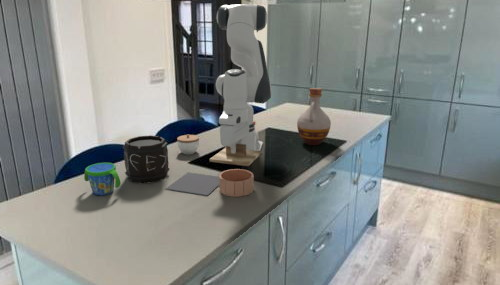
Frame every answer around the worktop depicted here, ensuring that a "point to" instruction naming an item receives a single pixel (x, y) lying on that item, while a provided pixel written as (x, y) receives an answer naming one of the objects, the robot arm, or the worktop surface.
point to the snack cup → (102, 178)
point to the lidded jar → (188, 143)
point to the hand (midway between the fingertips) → (236, 151)
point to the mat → (195, 184)
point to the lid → (236, 156)
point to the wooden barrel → (146, 159)
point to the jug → (314, 121)
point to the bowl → (236, 182)
